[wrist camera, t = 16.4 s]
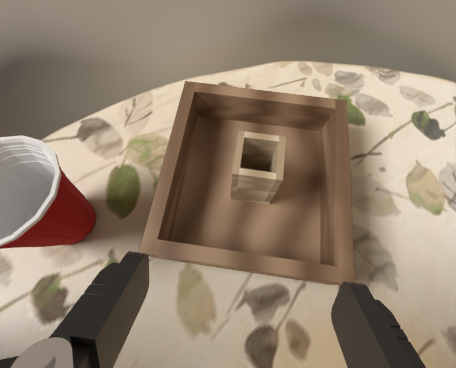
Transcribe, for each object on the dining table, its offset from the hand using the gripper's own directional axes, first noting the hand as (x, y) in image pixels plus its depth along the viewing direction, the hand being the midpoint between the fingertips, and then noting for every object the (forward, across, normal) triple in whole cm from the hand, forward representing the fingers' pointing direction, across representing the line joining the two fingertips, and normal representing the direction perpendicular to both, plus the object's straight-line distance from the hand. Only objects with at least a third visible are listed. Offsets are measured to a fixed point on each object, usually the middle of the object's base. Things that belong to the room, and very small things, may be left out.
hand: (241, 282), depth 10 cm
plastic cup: (+18, +20, +11) cm, 29 cm away
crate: (+23, -2, +5) cm, 23 cm away
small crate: (+22, -2, +5) cm, 22 cm away
